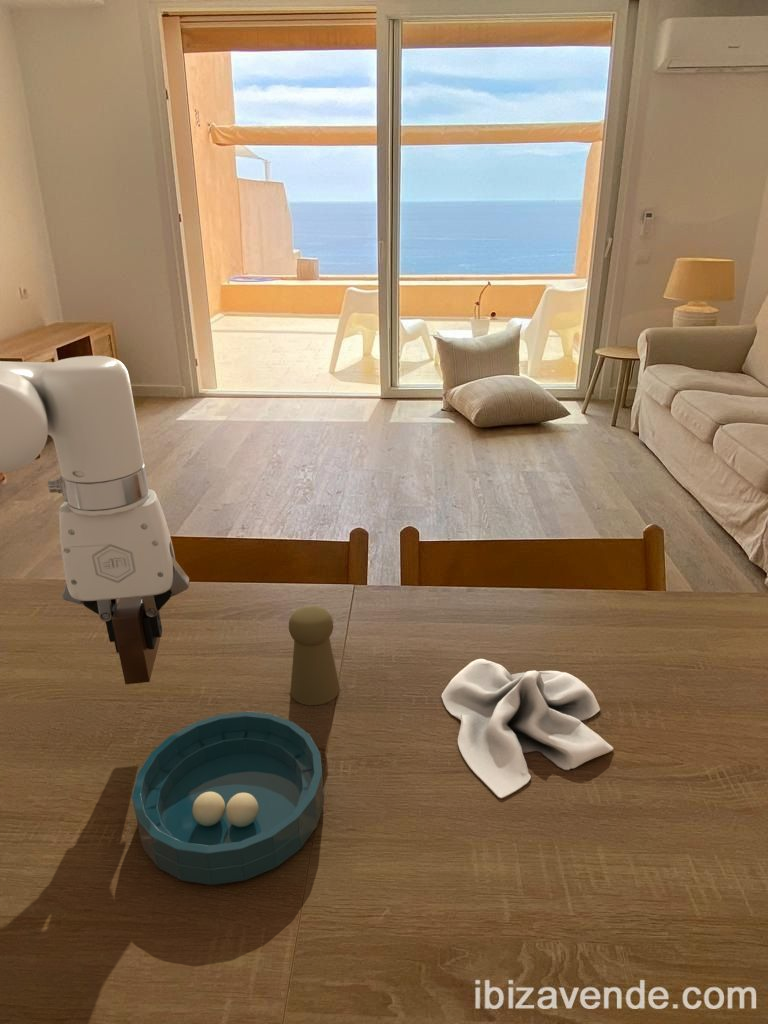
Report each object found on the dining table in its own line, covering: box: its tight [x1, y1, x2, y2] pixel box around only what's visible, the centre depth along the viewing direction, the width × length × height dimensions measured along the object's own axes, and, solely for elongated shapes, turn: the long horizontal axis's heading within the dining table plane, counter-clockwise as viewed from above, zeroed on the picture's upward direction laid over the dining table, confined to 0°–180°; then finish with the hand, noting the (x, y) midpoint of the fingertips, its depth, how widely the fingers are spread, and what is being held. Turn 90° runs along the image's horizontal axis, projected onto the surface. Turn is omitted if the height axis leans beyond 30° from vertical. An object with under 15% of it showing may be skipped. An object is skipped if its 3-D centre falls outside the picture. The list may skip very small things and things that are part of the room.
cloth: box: [441, 658, 614, 799], centre depth 78 cm, size 22×19×6 cm
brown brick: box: [112, 597, 161, 685], centre depth 76 cm, size 2×8×8 cm, turn 8°
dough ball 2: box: [226, 793, 258, 827], centre depth 65 cm, size 3×3×3 cm
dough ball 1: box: [192, 792, 225, 826], centre depth 66 cm, size 3×3×3 cm
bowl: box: [131, 710, 325, 886], centre depth 67 cm, size 18×18×4 cm
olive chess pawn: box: [288, 605, 341, 706], centre depth 83 cm, size 6×6×11 cm
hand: (137, 642), depth 75 cm, fingers closed on brown brick, 2 cm apart
